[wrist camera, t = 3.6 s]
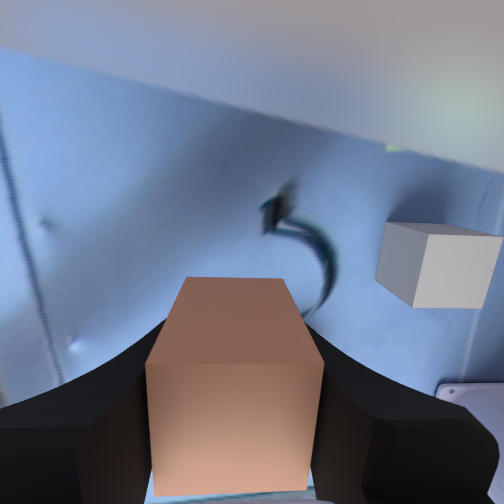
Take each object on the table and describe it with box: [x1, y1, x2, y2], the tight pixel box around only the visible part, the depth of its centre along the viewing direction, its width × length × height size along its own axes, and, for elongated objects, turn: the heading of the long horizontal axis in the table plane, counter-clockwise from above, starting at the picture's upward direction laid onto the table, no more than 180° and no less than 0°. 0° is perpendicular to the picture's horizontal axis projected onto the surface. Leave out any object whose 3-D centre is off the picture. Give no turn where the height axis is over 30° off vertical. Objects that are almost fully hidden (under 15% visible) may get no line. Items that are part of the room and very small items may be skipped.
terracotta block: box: [145, 277, 324, 497], centre depth 10 cm, size 4×4×6 cm
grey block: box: [375, 222, 504, 309], centre depth 18 cm, size 4×4×4 cm
